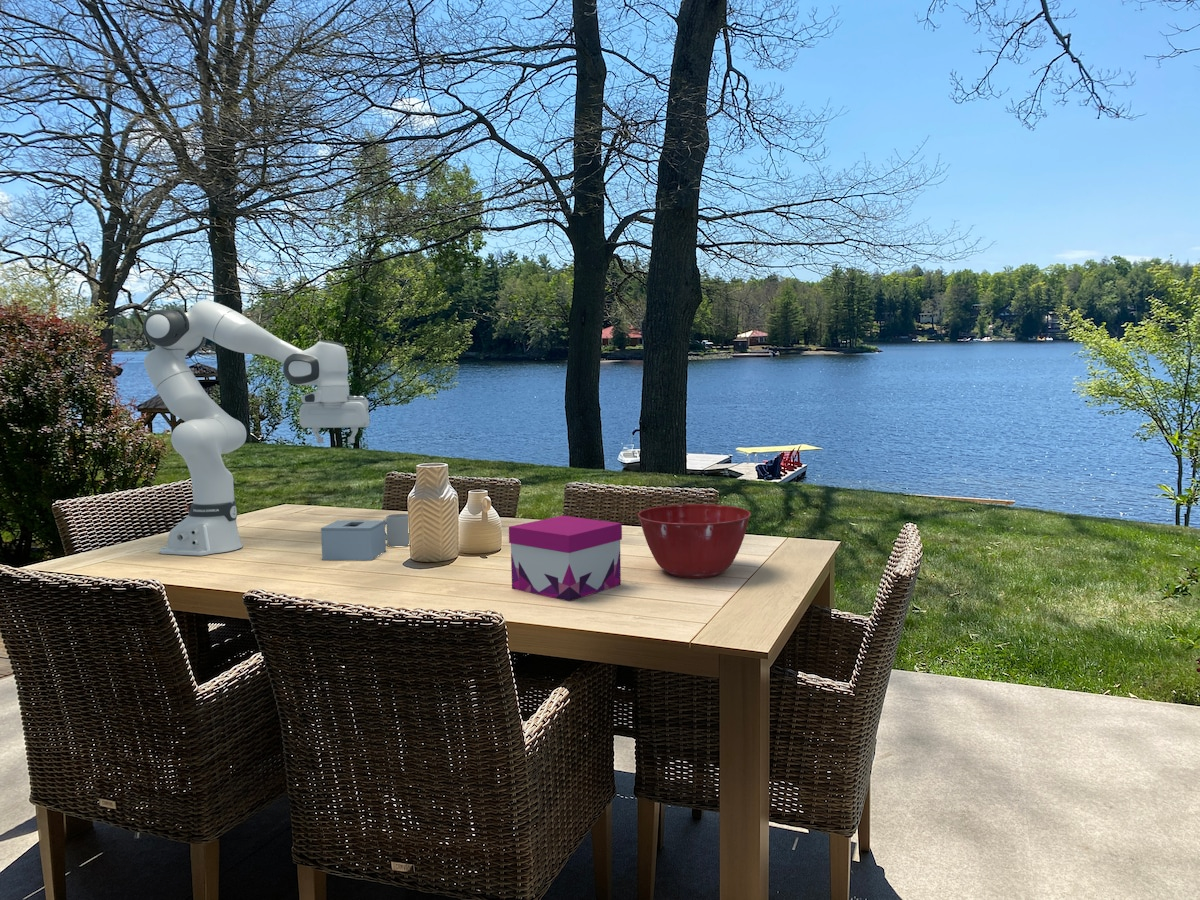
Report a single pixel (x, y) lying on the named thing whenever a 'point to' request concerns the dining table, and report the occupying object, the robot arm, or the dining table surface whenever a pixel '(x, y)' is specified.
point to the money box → (353, 540)
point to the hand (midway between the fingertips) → (335, 443)
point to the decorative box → (565, 556)
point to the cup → (397, 530)
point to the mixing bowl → (694, 537)
